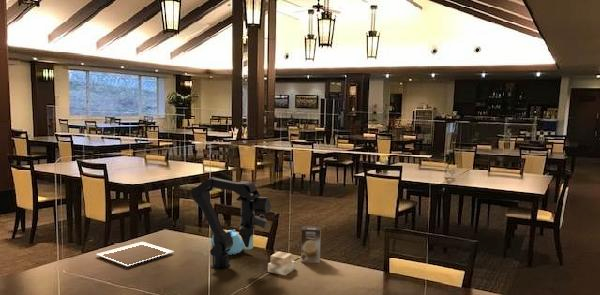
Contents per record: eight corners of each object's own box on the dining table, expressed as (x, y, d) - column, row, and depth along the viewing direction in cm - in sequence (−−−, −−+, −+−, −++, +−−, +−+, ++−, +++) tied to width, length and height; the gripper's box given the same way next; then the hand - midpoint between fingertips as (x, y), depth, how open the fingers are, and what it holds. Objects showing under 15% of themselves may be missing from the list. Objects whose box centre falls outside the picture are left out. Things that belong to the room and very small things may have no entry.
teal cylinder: (239, 248, 199) (239, 235, 198) (245, 245, 203) (245, 232, 202) (249, 250, 196) (249, 236, 196) (255, 246, 201) (255, 233, 200)
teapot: (235, 244, 239) (235, 225, 238) (250, 252, 227) (250, 231, 226) (209, 250, 229) (209, 229, 228) (223, 258, 218) (223, 236, 217)
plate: (142, 244, 237) (142, 241, 237) (174, 254, 222) (174, 250, 222) (95, 257, 216) (95, 253, 216) (127, 270, 201) (127, 265, 201)
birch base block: (267, 272, 200) (267, 263, 200) (277, 266, 208) (277, 257, 208) (285, 276, 196) (285, 267, 196) (294, 269, 204) (295, 261, 204)
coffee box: (300, 262, 213) (300, 229, 211) (301, 258, 219) (302, 225, 217) (319, 263, 212) (320, 230, 210) (320, 258, 218) (321, 226, 217)
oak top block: (270, 263, 200) (270, 255, 200) (278, 258, 206) (278, 251, 206) (284, 266, 197) (284, 258, 197) (291, 261, 203) (291, 253, 203)
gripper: (265, 215, 189) (265, 251, 191) (266, 206, 208) (266, 239, 209) (238, 215, 189) (238, 252, 190) (241, 206, 207) (242, 239, 209)
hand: (247, 245), depth 200 cm, fingers closed on teal cylinder, 5 cm apart
